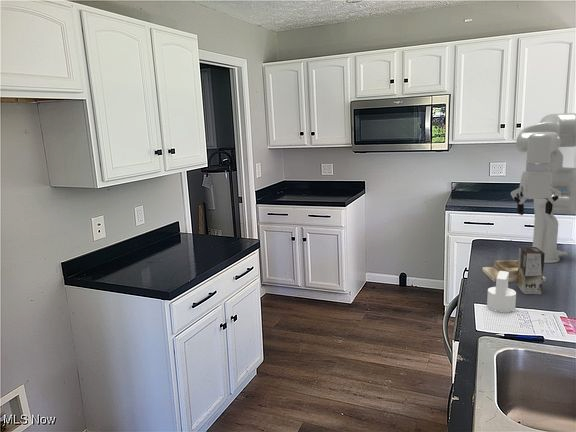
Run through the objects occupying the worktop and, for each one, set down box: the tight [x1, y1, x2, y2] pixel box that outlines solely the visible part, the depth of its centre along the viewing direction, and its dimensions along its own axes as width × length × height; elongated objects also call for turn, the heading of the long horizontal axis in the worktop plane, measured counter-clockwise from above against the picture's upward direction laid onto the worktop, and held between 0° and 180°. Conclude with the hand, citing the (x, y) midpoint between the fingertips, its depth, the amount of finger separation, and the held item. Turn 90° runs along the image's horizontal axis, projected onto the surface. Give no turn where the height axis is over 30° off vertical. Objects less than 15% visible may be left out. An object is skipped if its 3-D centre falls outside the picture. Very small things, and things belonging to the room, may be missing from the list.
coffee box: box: [516, 246, 545, 296], centre depth 168 cm, size 9×6×16 cm
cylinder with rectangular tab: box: [486, 271, 517, 313], centre depth 154 cm, size 9×9×12 cm
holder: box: [481, 259, 546, 283], centre depth 184 cm, size 20×14×4 cm
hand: (534, 214), depth 163 cm, fingers open, 9 cm apart
